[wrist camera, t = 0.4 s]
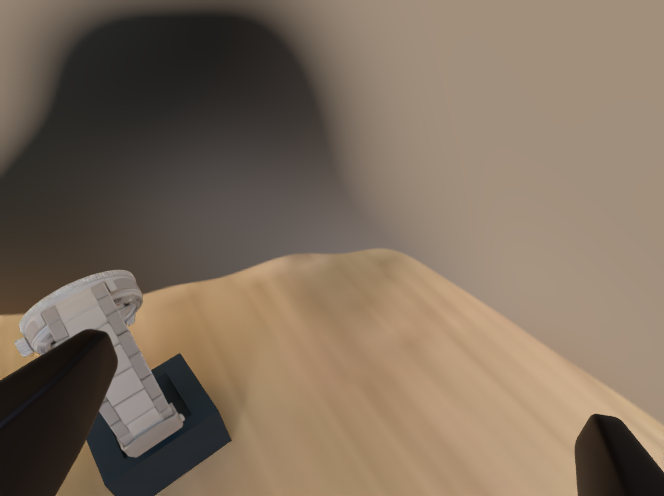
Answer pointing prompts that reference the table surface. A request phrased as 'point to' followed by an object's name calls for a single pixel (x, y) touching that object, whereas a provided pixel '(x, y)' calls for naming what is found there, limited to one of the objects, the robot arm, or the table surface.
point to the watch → (130, 388)
